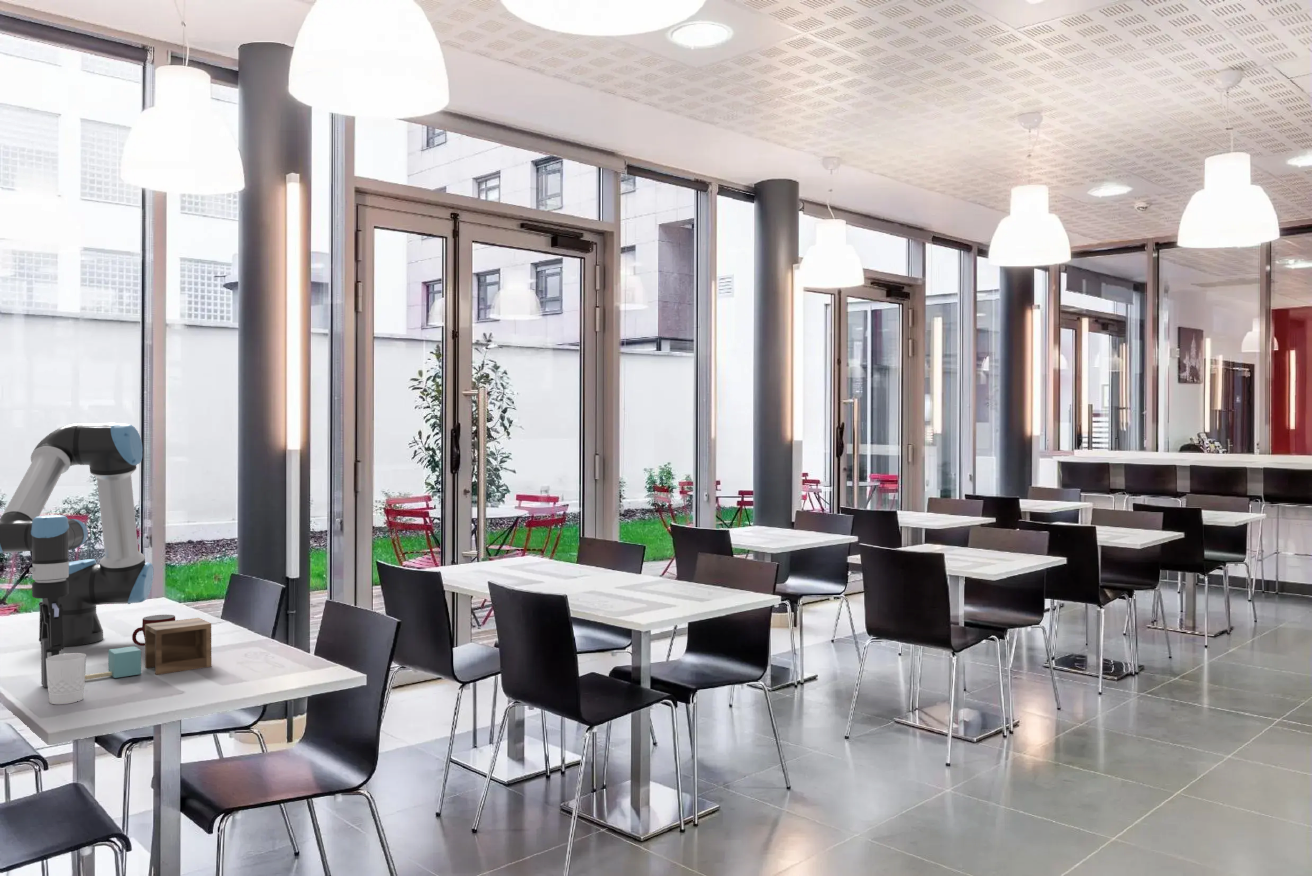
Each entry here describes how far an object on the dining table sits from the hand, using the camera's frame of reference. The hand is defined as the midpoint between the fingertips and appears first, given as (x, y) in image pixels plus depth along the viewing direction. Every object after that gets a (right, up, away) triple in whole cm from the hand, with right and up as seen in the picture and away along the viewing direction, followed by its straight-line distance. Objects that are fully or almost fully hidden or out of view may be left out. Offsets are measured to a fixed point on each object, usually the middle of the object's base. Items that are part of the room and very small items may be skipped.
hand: (51, 675), depth 239 cm
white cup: (+11, -3, -13) cm, 17 cm away
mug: (+8, -2, +34) cm, 35 cm away
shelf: (+21, -2, +19) cm, 28 cm away
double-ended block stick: (+6, -2, +6) cm, 9 cm away
